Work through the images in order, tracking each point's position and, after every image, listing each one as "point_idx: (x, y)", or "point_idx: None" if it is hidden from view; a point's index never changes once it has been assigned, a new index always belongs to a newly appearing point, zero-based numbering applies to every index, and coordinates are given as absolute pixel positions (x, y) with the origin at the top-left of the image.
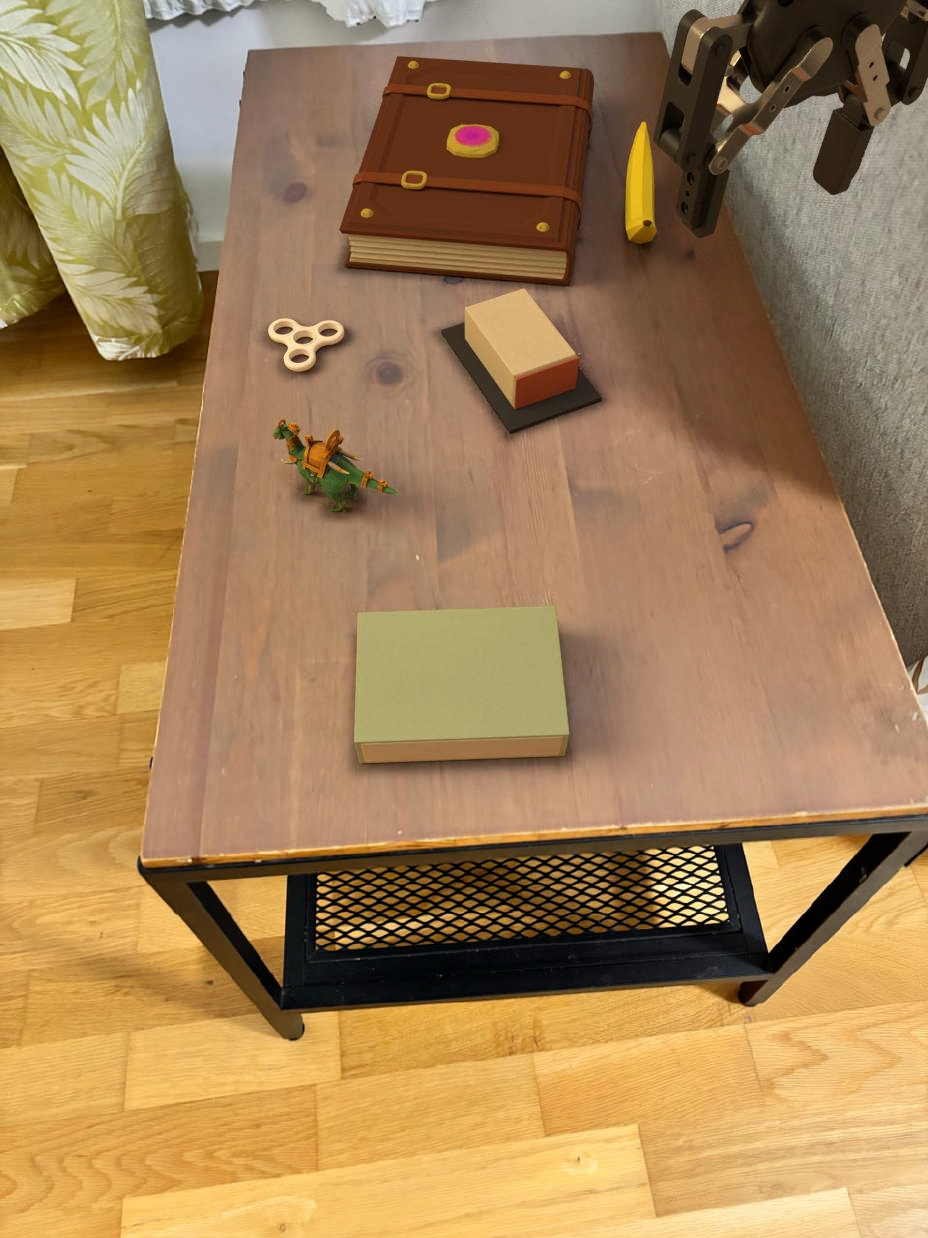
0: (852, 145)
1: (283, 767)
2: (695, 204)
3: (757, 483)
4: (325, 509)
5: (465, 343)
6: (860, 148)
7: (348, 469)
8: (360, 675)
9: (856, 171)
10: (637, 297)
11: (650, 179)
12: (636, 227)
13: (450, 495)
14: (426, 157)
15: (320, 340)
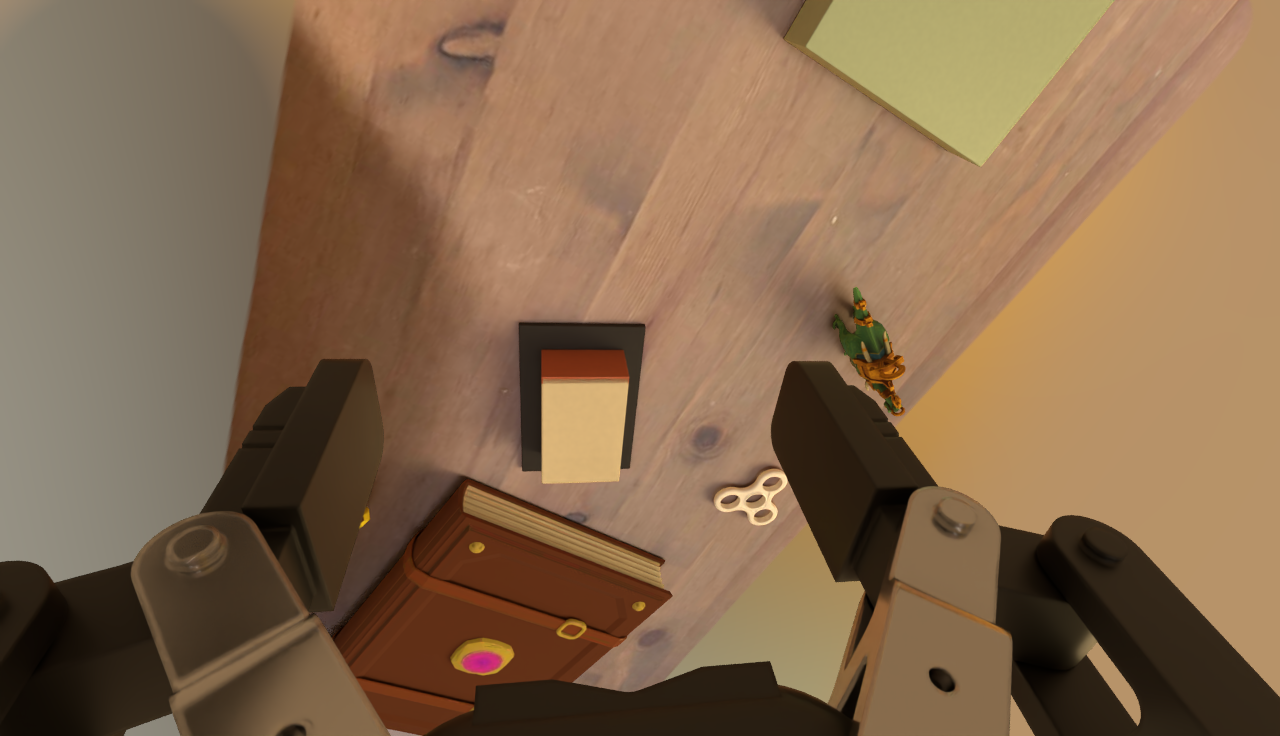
0: (321, 469)
1: (1120, 40)
2: (895, 434)
3: (391, 108)
4: None
5: None
6: (286, 451)
7: (875, 337)
8: (1041, 84)
9: (274, 400)
10: (390, 437)
11: None
12: (367, 517)
13: (752, 277)
14: (540, 648)
15: (744, 493)
